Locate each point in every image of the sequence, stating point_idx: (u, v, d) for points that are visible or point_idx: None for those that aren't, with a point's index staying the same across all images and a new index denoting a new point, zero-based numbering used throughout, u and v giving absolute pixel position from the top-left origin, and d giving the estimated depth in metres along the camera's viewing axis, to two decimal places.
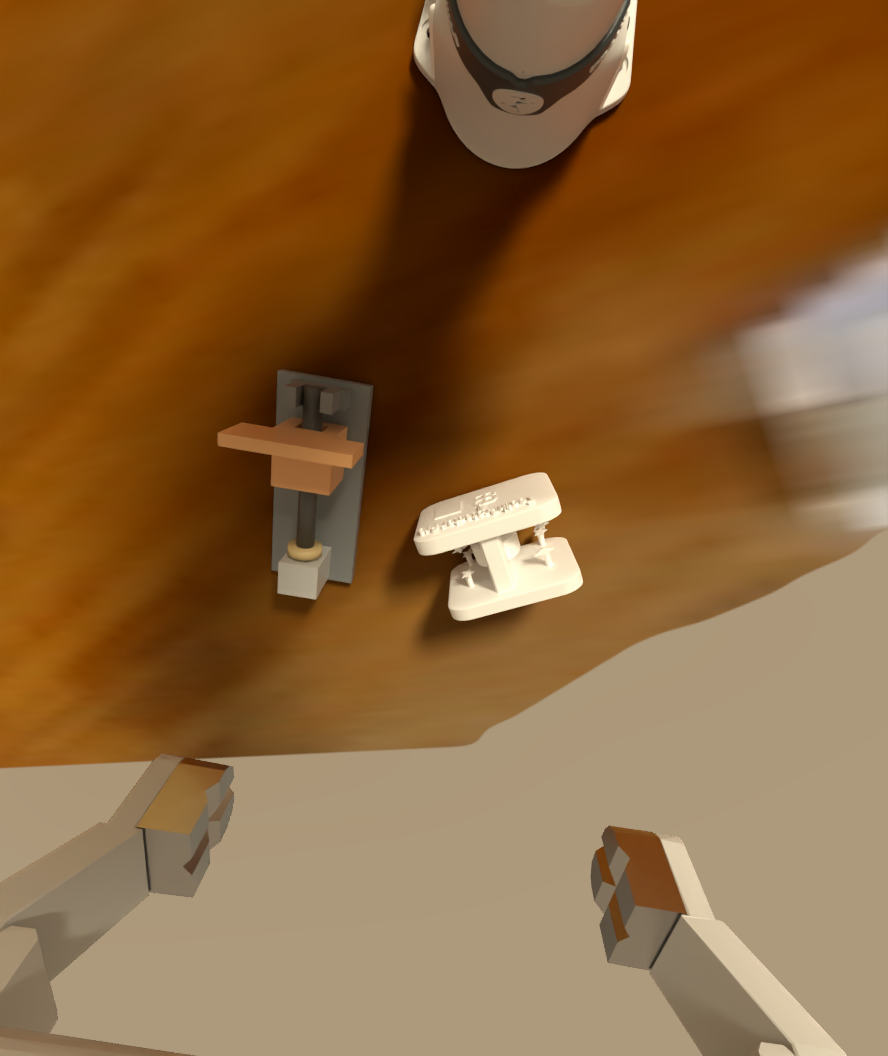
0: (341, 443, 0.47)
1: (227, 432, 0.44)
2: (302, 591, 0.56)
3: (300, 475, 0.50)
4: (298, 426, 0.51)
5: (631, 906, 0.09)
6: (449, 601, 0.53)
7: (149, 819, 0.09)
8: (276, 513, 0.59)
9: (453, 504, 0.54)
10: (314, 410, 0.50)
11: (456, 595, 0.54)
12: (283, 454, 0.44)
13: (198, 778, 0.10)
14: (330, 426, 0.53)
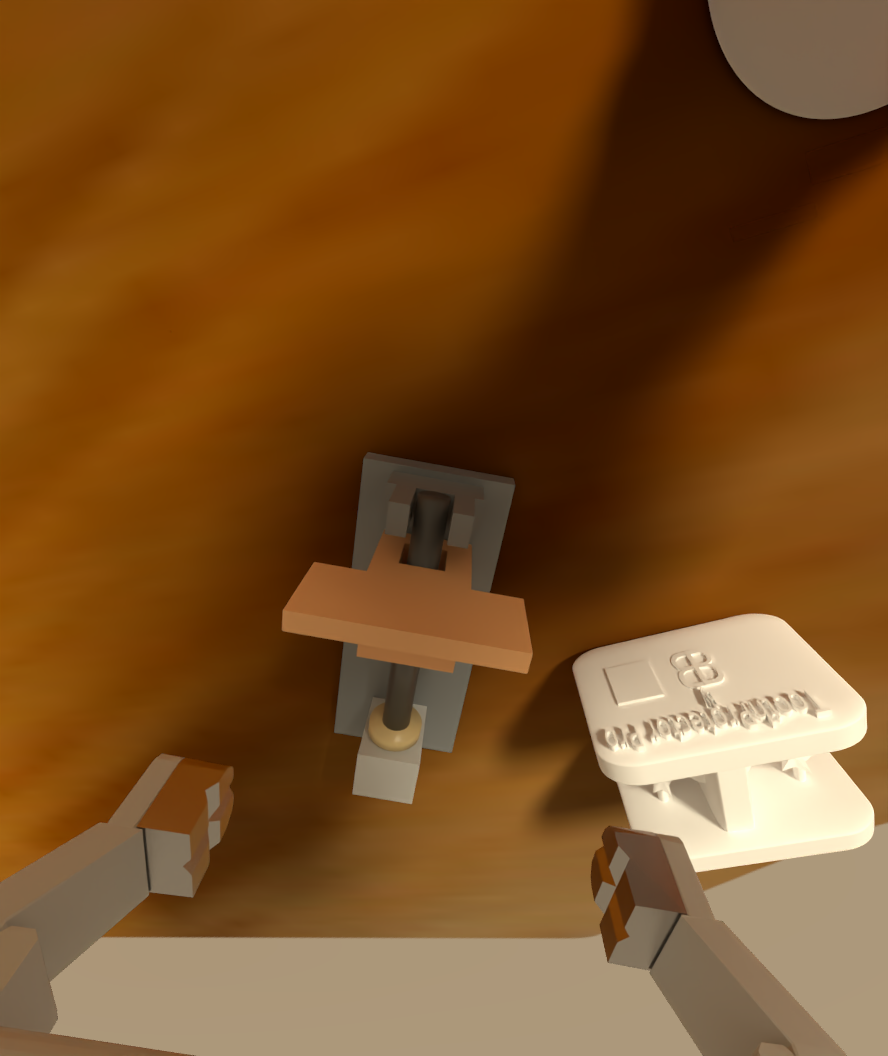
0: (492, 608, 0.27)
1: (299, 605, 0.24)
2: (391, 793, 0.36)
3: None
4: (401, 555, 0.31)
5: (631, 906, 0.09)
6: (633, 828, 0.33)
7: (149, 819, 0.09)
8: (346, 660, 0.39)
9: (637, 669, 0.34)
10: (434, 536, 0.29)
11: (642, 815, 0.34)
12: (402, 647, 0.24)
13: (198, 778, 0.10)
14: (448, 550, 0.32)
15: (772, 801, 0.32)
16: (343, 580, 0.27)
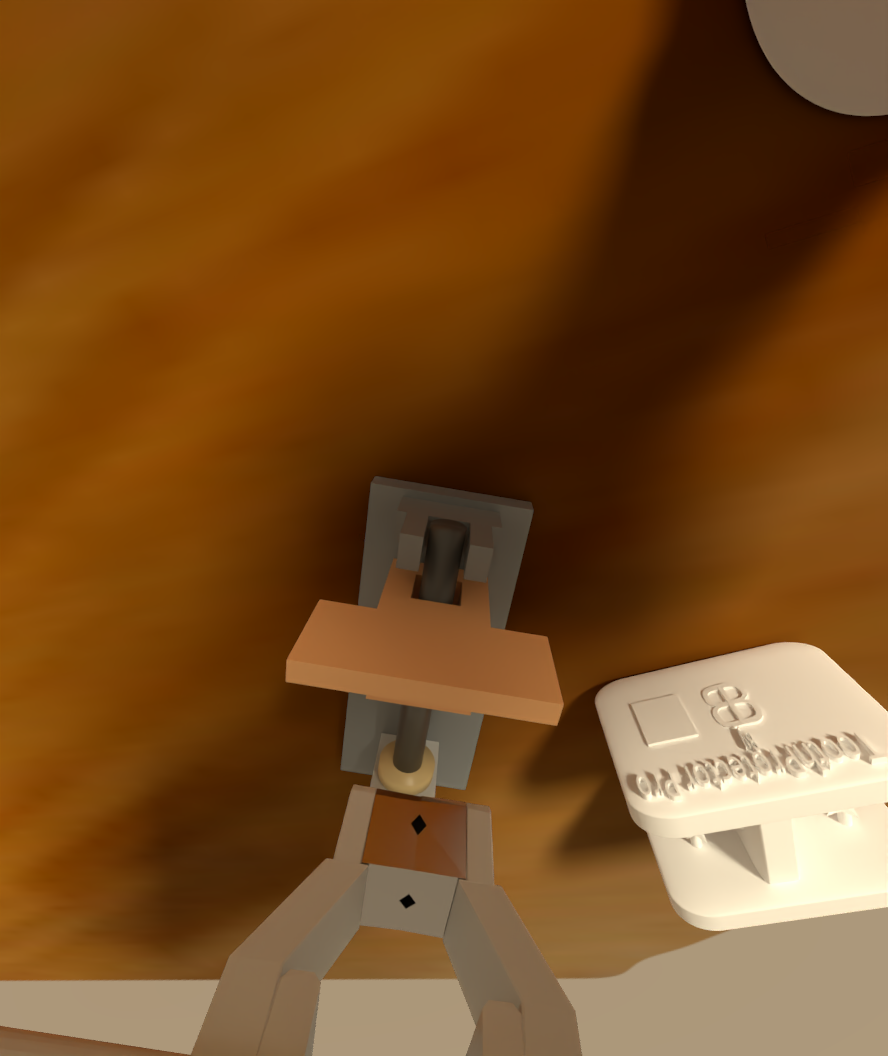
0: (515, 649, 0.24)
1: (304, 653, 0.22)
2: None
3: None
4: (413, 588, 0.29)
5: (413, 871, 0.09)
6: (666, 878, 0.31)
7: (370, 854, 0.09)
8: (353, 694, 0.36)
9: (666, 705, 0.32)
10: (448, 568, 0.27)
11: (674, 863, 0.31)
12: (419, 699, 0.22)
13: (399, 810, 0.10)
14: (463, 580, 0.30)
15: (816, 849, 0.30)
16: (352, 620, 0.25)
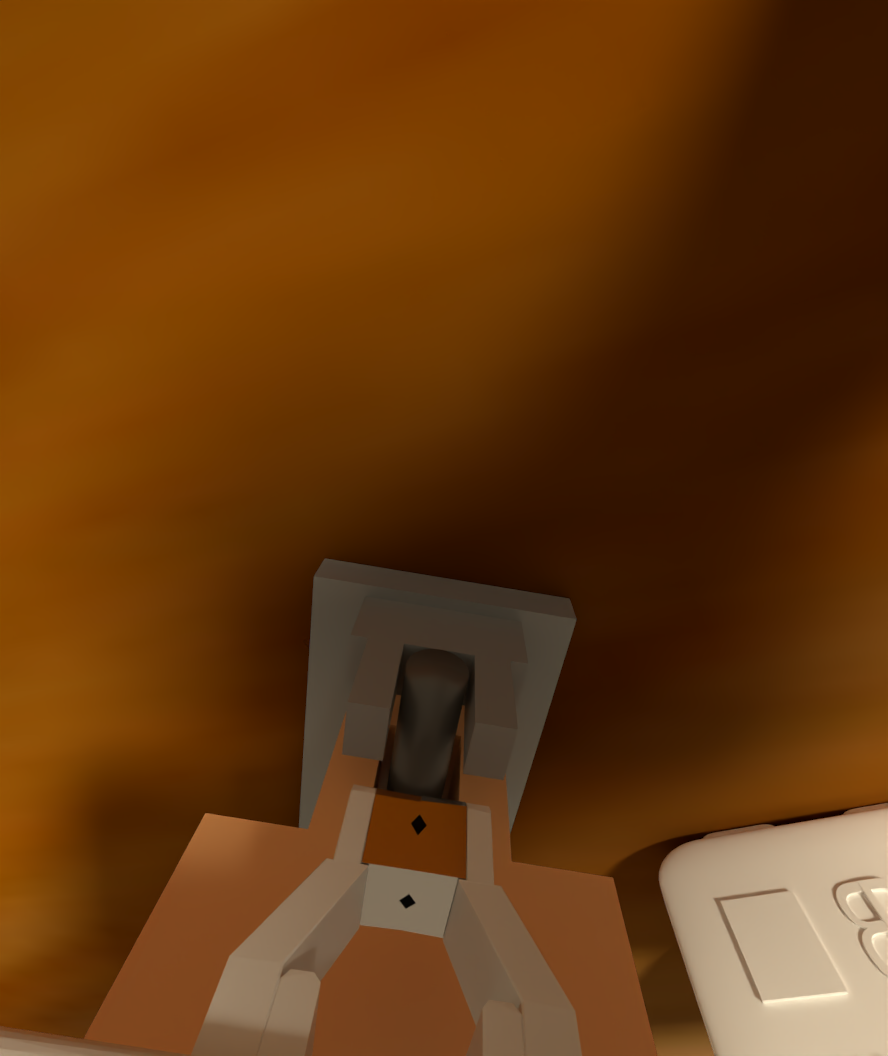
0: (559, 928, 0.13)
1: (130, 1009, 0.10)
2: None
3: None
4: (379, 760, 0.17)
5: (413, 871, 0.09)
6: None
7: (370, 854, 0.09)
8: None
9: (780, 913, 0.20)
10: (437, 742, 0.16)
11: None
12: None
13: (399, 810, 0.10)
14: (463, 732, 0.19)
15: None
16: (254, 874, 0.13)
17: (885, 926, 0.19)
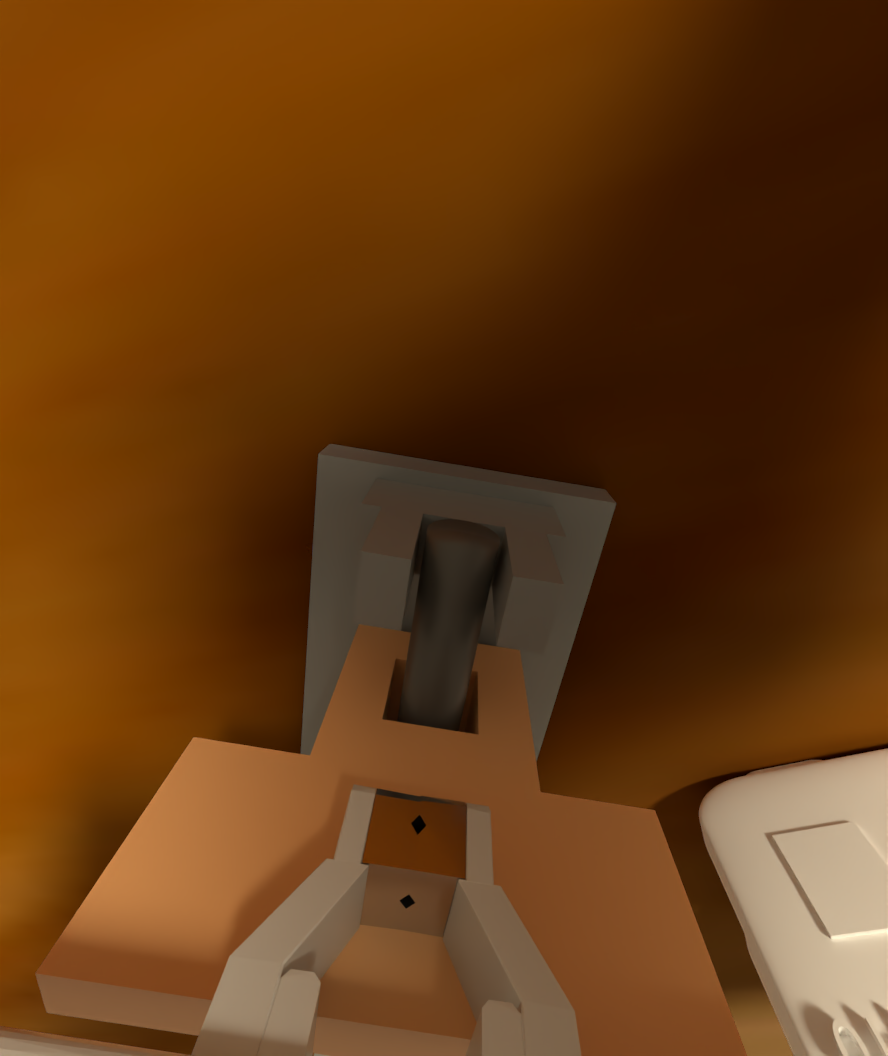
0: (599, 859, 0.11)
1: (98, 935, 0.09)
2: None
3: None
4: (388, 692, 0.16)
5: (412, 871, 0.09)
6: None
7: (370, 854, 0.09)
8: None
9: (842, 844, 0.18)
10: (464, 619, 0.13)
11: None
12: None
13: (400, 810, 0.10)
14: (480, 668, 0.17)
15: None
16: (248, 799, 0.11)
17: None
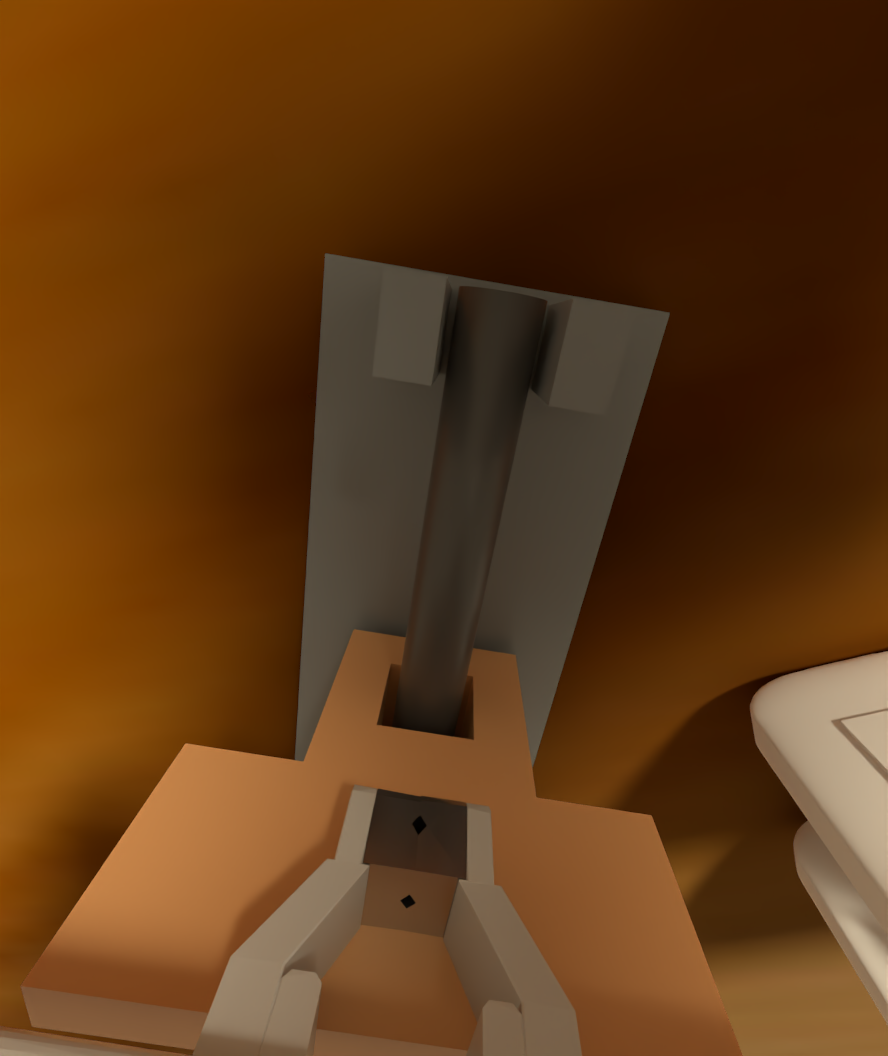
0: (596, 865, 0.11)
1: (85, 946, 0.09)
2: None
3: None
4: (383, 697, 0.15)
5: (413, 871, 0.09)
6: None
7: (371, 854, 0.09)
8: (307, 704, 0.20)
9: None
10: (504, 397, 0.11)
11: None
12: None
13: (400, 811, 0.10)
14: (475, 673, 0.17)
15: None
16: (241, 806, 0.11)
17: None
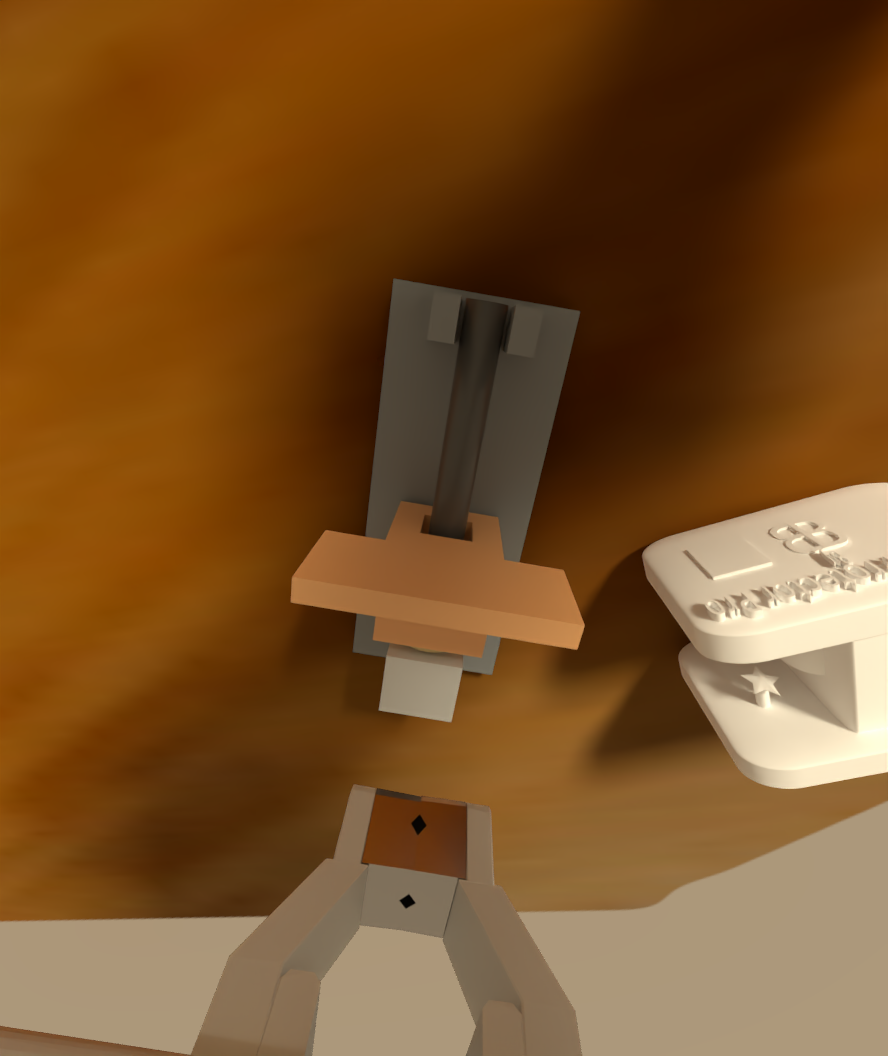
0: (530, 578, 0.23)
1: (311, 572, 0.21)
2: (426, 708, 0.30)
3: None
4: (422, 526, 0.28)
5: (413, 871, 0.09)
6: (731, 739, 0.27)
7: (370, 854, 0.09)
8: None
9: (729, 545, 0.28)
10: (487, 351, 0.23)
11: (739, 724, 0.27)
12: (432, 620, 0.21)
13: (399, 810, 0.10)
14: (473, 521, 0.29)
15: None
16: (359, 548, 0.23)
17: (802, 535, 0.27)
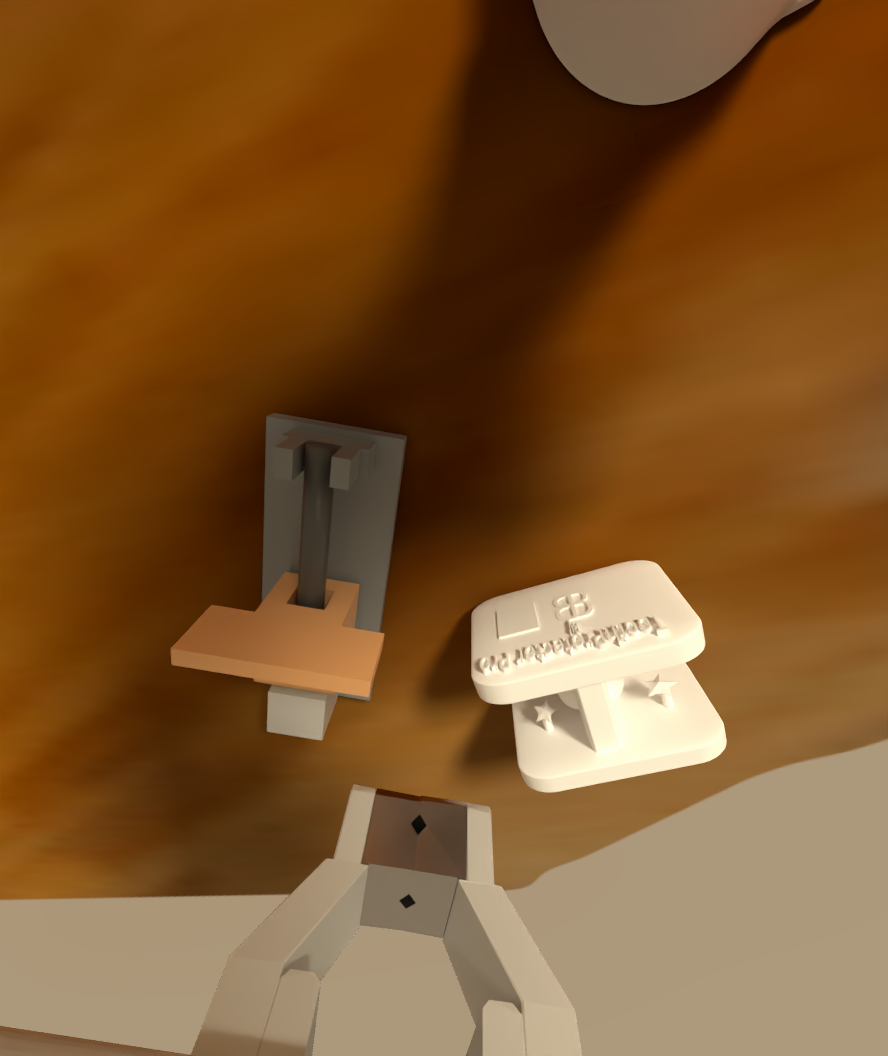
0: (353, 642, 0.33)
1: (186, 644, 0.30)
2: (302, 730, 0.39)
3: None
4: (291, 596, 0.37)
5: (413, 871, 0.09)
6: (519, 755, 0.36)
7: (370, 854, 0.09)
8: None
9: (523, 609, 0.37)
10: (321, 481, 0.33)
11: (527, 744, 0.37)
12: (268, 677, 0.30)
13: (399, 810, 0.10)
14: (336, 589, 0.38)
15: (640, 725, 0.35)
16: (231, 621, 0.33)
17: (569, 605, 0.36)
